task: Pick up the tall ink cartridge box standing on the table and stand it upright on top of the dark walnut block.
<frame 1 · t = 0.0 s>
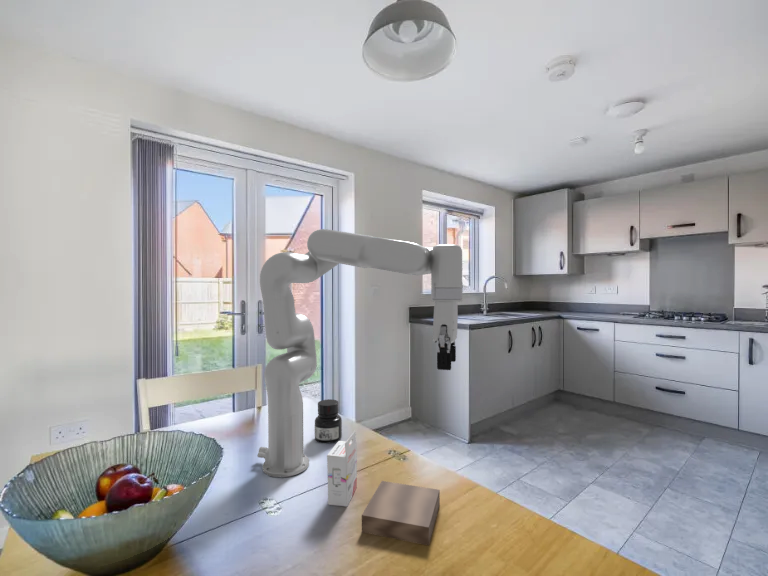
hand: (446, 365, 92), 31 cm above the table, tool pointing down, fingers open, 9 cm apart
ink cartridge box: (342, 497, 90), on the table
ink bottle: (328, 439, 124), on the table
walnut block: (402, 519, 82), on the table
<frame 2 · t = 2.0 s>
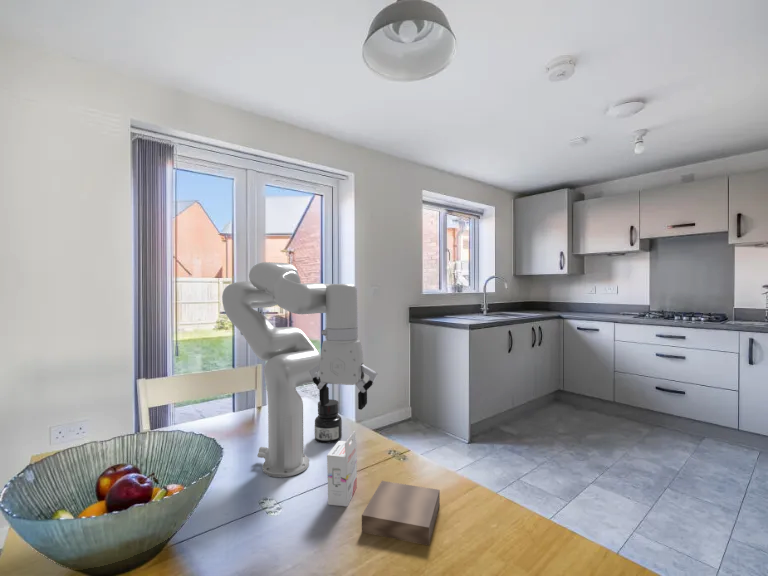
hand: (343, 406, 90), 22 cm above the table, tool pointing down, fingers open, 9 cm apart
nothing on the table moved.
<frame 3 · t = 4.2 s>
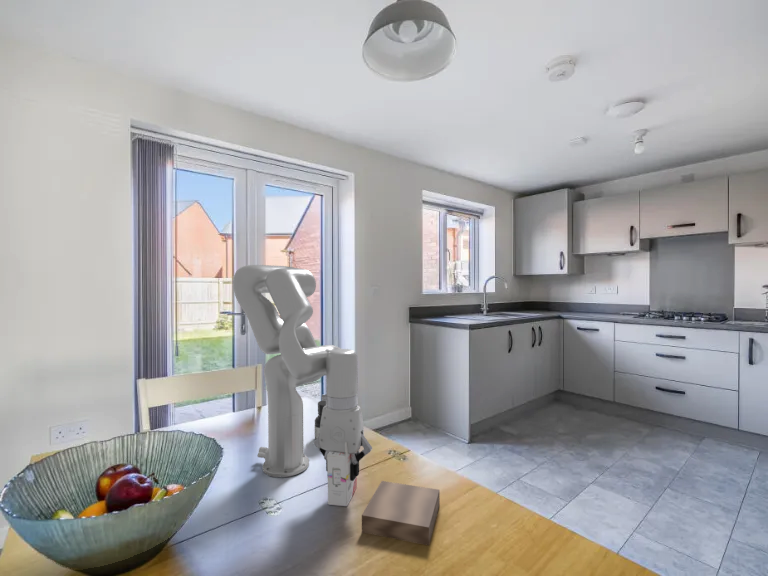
hand: (342, 475, 90), 5 cm above the table, tool pointing down, fingers closed on ink cartridge box, 5 cm apart
ink cartridge box: (342, 496, 90), on the table, touching gripper
everything else where it was.
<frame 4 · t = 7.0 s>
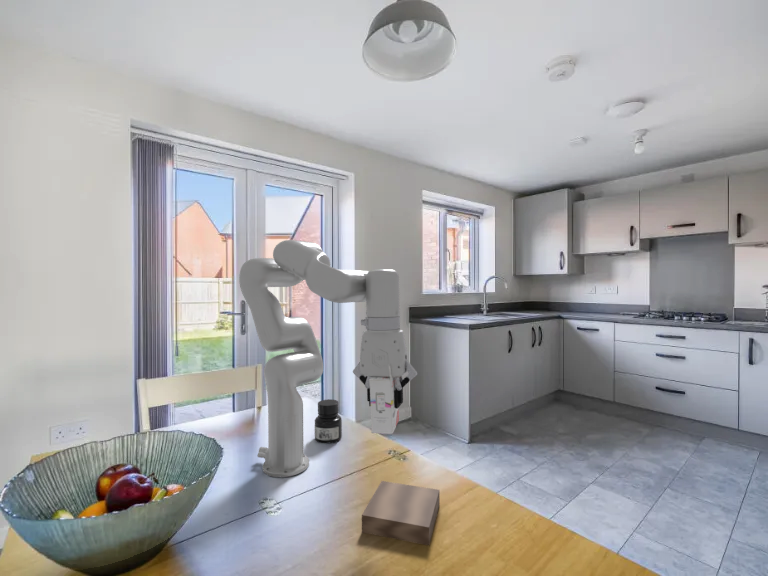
hand: (385, 404, 84), 24 cm above the table, tool pointing down, fingers closed on ink cartridge box, 5 cm apart
ink cartridge box: (385, 427, 84), point 19 cm above the table, touching gripper
everything else where it was.
when the fingers open (10 cm above the table, at t = 10.2 s): ink cartridge box drops 2 cm, resting on walnut block.
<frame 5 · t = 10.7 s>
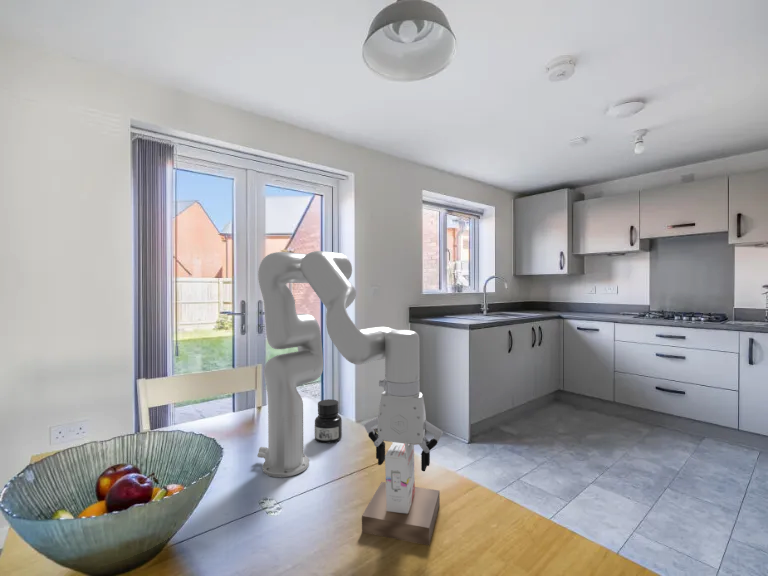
hand: (402, 465, 82), 12 cm above the table, tool pointing down, fingers open, 9 cm apart
ink cartridge box: (400, 502, 82), point 3 cm above the table, touching walnut block
walnut block: (403, 520, 82), on the table, touching ink cartridge box
everything else where it was.
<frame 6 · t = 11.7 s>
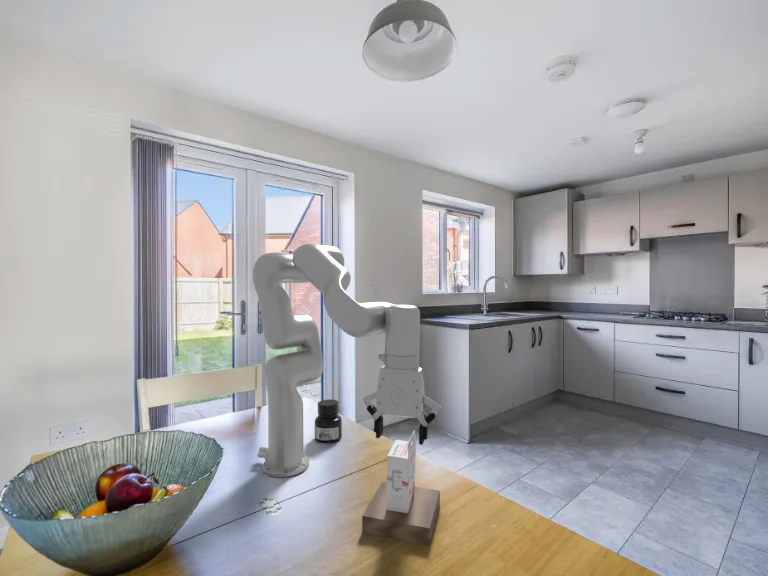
hand: (400, 438, 82), 17 cm above the table, tool pointing down, fingers open, 9 cm apart
ink cartridge box: (400, 501, 82), point 3 cm above the table
walnut block: (403, 520, 82), on the table
everything else where it was.
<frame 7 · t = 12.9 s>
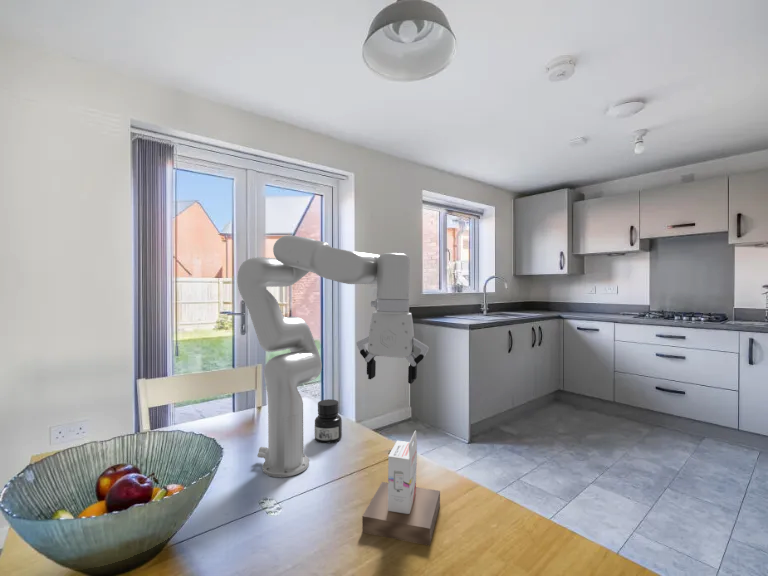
hand: (391, 380, 87), 29 cm above the table, tool pointing down, fingers open, 9 cm apart
ink cartridge box: (402, 502, 82), point 3 cm above the table, touching walnut block
walnut block: (403, 520, 82), on the table, touching ink cartridge box
everything else where it was.
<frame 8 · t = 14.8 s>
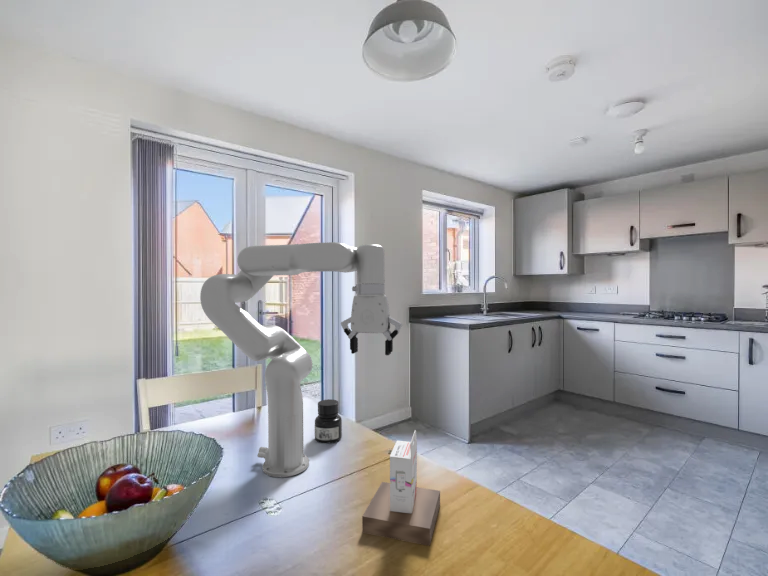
hand: (371, 353, 102), 32 cm above the table, tool pointing down, fingers open, 9 cm apart
nothing on the table moved.
at the end: ink cartridge box 0.5 cm off-centre on the walnut block, point 3.8 cm above the walnut block's base; ink cartridge box tilted 1°; the gripper is holding nothing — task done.
